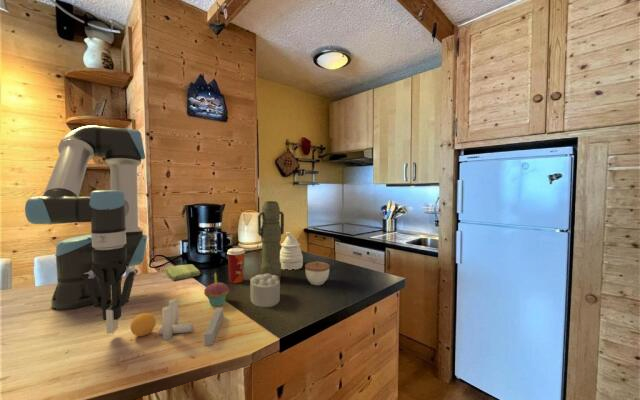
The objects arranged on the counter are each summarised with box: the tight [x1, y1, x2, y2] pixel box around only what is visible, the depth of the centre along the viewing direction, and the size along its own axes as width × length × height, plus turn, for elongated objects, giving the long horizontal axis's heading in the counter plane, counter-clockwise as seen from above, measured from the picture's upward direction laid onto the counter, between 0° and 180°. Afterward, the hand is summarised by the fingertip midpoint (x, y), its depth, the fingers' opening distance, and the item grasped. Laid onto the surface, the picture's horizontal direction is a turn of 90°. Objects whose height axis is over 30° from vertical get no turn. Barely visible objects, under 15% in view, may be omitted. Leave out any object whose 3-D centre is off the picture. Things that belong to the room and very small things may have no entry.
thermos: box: [257, 200, 285, 280], centre depth 124 cm, size 9×12×35 cm
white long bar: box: [203, 306, 224, 346], centre depth 81 cm, size 2×16×3 cm, turn 10°
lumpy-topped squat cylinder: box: [249, 273, 281, 308], centre depth 103 cm, size 10×13×9 cm
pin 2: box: [168, 298, 179, 325], centre depth 82 cm, size 2×2×8 cm
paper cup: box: [226, 247, 246, 284], centre depth 122 cm, size 8×8×14 cm
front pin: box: [158, 322, 194, 335], centre depth 80 cm, size 2×2×8 cm
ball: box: [130, 312, 157, 337], centre depth 78 cm, size 6×6×6 cm
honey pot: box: [280, 231, 304, 271], centre depth 144 cm, size 13×13×18 cm
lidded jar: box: [304, 260, 331, 286], centre depth 121 cm, size 11×11×9 cm
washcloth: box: [164, 263, 201, 281], centre depth 131 cm, size 13×18×3 cm
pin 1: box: [161, 305, 173, 341], centre depth 77 cm, size 2×2×8 cm
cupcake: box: [203, 271, 230, 306], centre depth 99 cm, size 9×8×12 cm
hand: (112, 330), depth 77 cm, fingers closed
